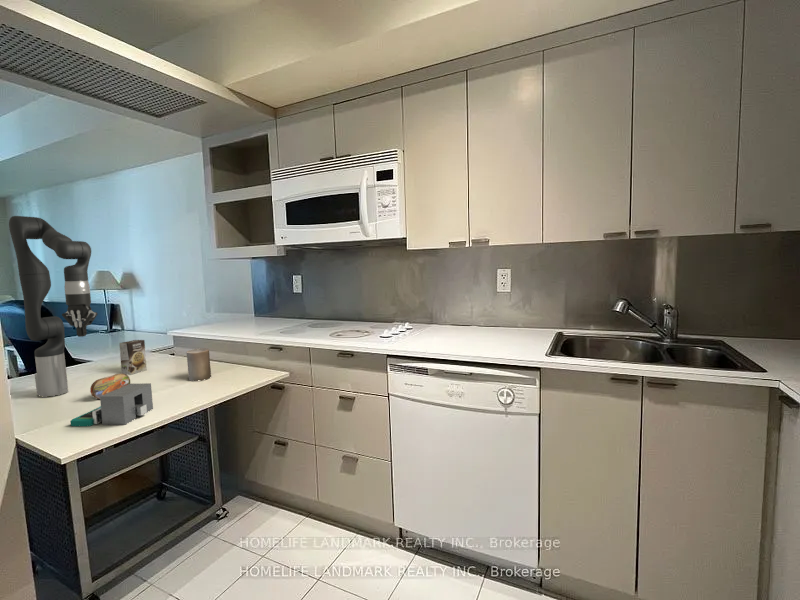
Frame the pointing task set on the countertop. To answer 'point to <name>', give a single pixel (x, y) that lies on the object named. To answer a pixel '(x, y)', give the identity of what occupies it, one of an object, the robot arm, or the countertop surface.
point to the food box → (133, 356)
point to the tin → (108, 384)
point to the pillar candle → (198, 364)
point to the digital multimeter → (84, 419)
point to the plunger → (139, 411)
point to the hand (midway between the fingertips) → (81, 336)
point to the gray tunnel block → (125, 403)
